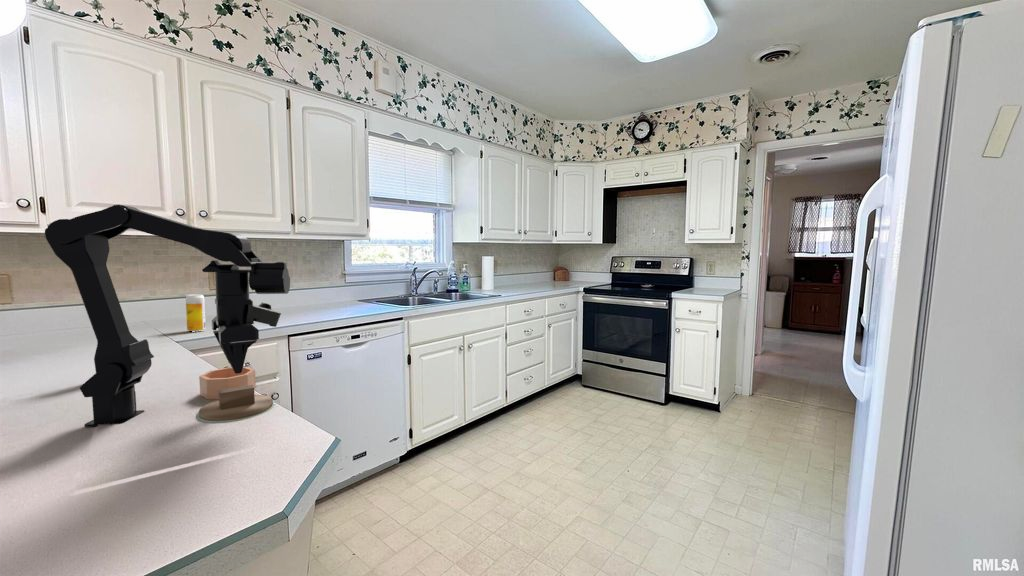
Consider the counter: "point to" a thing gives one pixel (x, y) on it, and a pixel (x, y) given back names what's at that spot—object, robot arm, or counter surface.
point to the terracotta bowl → (224, 381)
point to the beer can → (195, 312)
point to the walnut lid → (235, 404)
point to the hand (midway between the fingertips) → (235, 368)
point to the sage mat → (236, 419)
